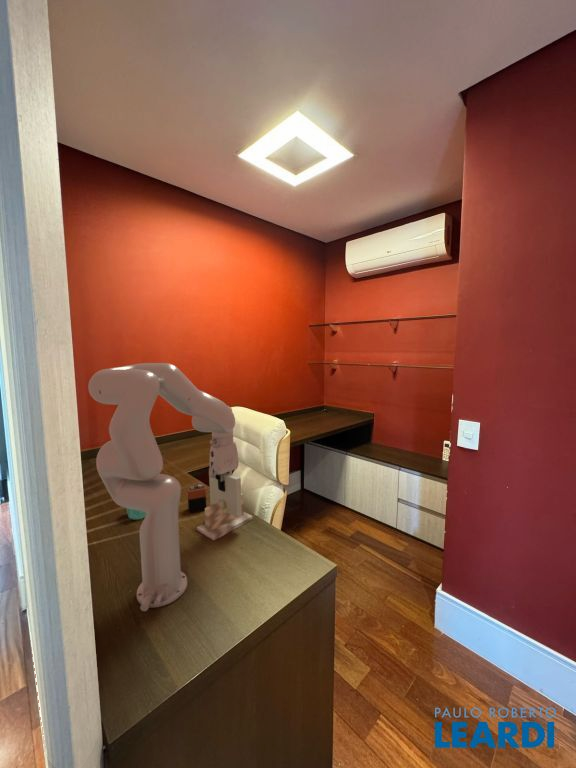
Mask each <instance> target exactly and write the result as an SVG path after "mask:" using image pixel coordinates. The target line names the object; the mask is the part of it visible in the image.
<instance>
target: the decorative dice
mask: <svg viewBox="0 0 576 768" xmlns="http://www.w3.org/2000/svg"><path fill="white" fill-rule="evenodd" d="M125 509H126V514H127V516H128V518H129V519H130V520H135V521H137V520H144V519H145V517H146V513H145V512H143V511H139V510H134V509H128V508H125Z"/></svg>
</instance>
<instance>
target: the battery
mask: <svg viewBox="0 0 576 768" xmlns="http://www.w3.org/2000/svg"><path fill="white" fill-rule="evenodd" d="M186 491H187V506H188V507H187V508H188V512H189V514H190V513H196V512H197V513H198V512H201V511H205V508H206V507H207V493H206V492H207V489H206V487H205V485H204V484H203V483H199V484H198V485H191V486H189V487H187V489H186Z"/></svg>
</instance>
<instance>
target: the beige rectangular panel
mask: <svg viewBox="0 0 576 768" xmlns="http://www.w3.org/2000/svg"><path fill="white" fill-rule="evenodd" d="M209 474H210V468H208V475H209ZM208 478H209V479H208V482H209V483H208V484H209V499H210V500H209V504H210V506H211V505H213V504H215V503H217V502H220V503H222V509H223V508H225V503H226V509H227V513H229V514H231V515H233V516H235V517H237V518H238V517H240V516H242V504H241V493H242V483H241V482H242V481H241V479H242V477H240V476H237V475H234V474H229V473H224V474H223V480H224V481H225V491H224V492H223V491H221V490H219V489H218V480H217V479H216V478H211V477H209V476H208Z"/></svg>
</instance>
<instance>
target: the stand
mask: <svg viewBox="0 0 576 768" xmlns="http://www.w3.org/2000/svg"><path fill="white" fill-rule="evenodd" d="M241 504H242V516H240V517H238V518H237V517H235V516H233V515H231V514H229V513H227V508H225V509H223V508H222V503H220V502H217V503H215V504H213V505H211V504H210V505H208V506H206V508H205V510H204V517H205V518H204V520H205V522H204V523H203V524H201V525H198V526H196V531H197V532H199V533H201V534H202V535H204V536H205V537H207V538H208V539H210V540H211V541H216V540H217V539H219V538H221V537H223V536H225V535H227V534H228V533H231V532H233V531H234V530H236V529H237V528H239V527H241V526H243V525H245V524H246V523H248V522H250V521H252V520H254V516H253V515H251V514H249V513H247V512H245V510H244V493H242V492H241Z"/></svg>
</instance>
